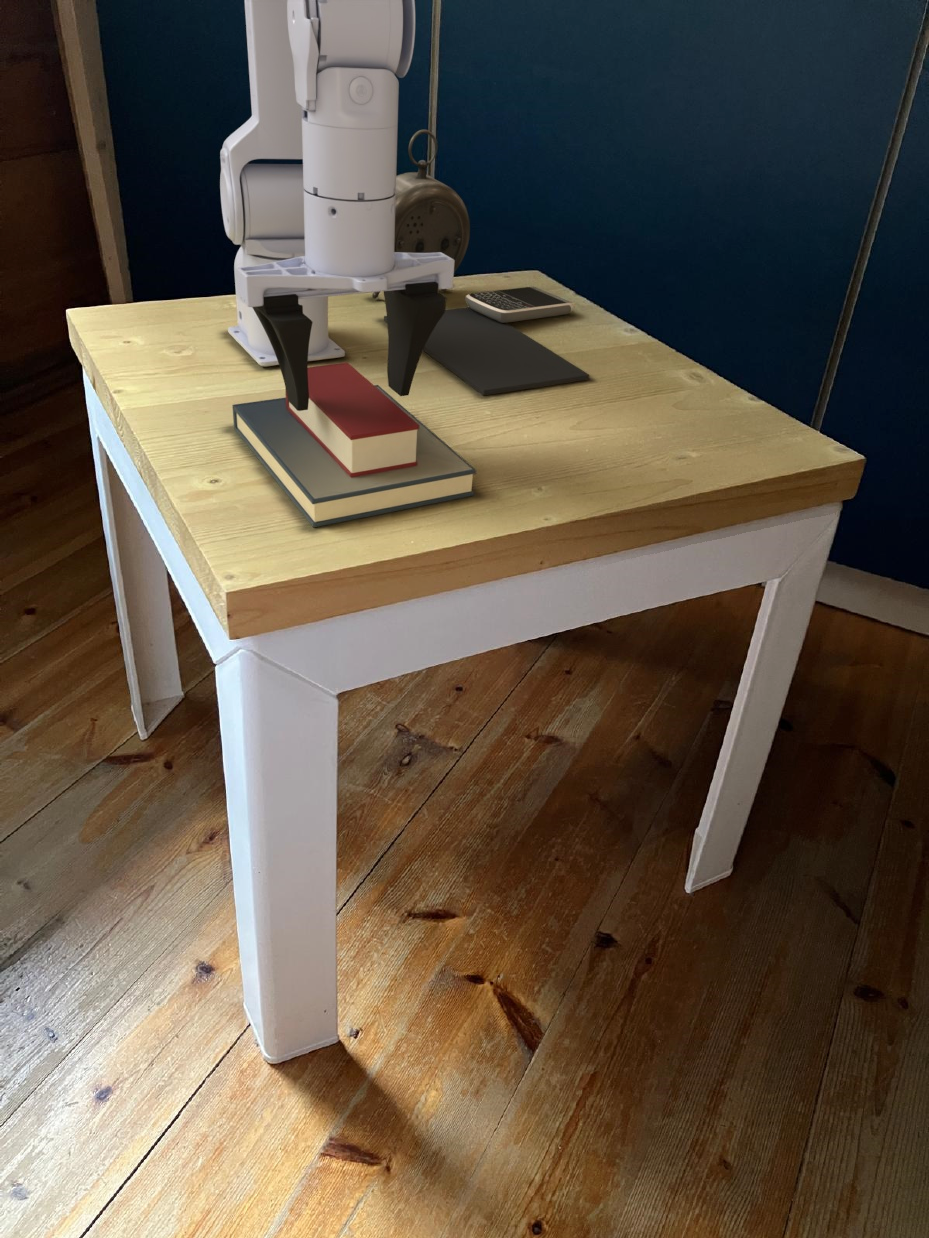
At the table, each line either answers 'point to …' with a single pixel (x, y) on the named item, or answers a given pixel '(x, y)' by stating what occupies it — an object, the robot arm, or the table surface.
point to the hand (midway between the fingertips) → (349, 397)
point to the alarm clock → (429, 214)
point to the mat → (495, 354)
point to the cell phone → (518, 304)
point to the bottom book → (328, 487)
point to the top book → (356, 422)
